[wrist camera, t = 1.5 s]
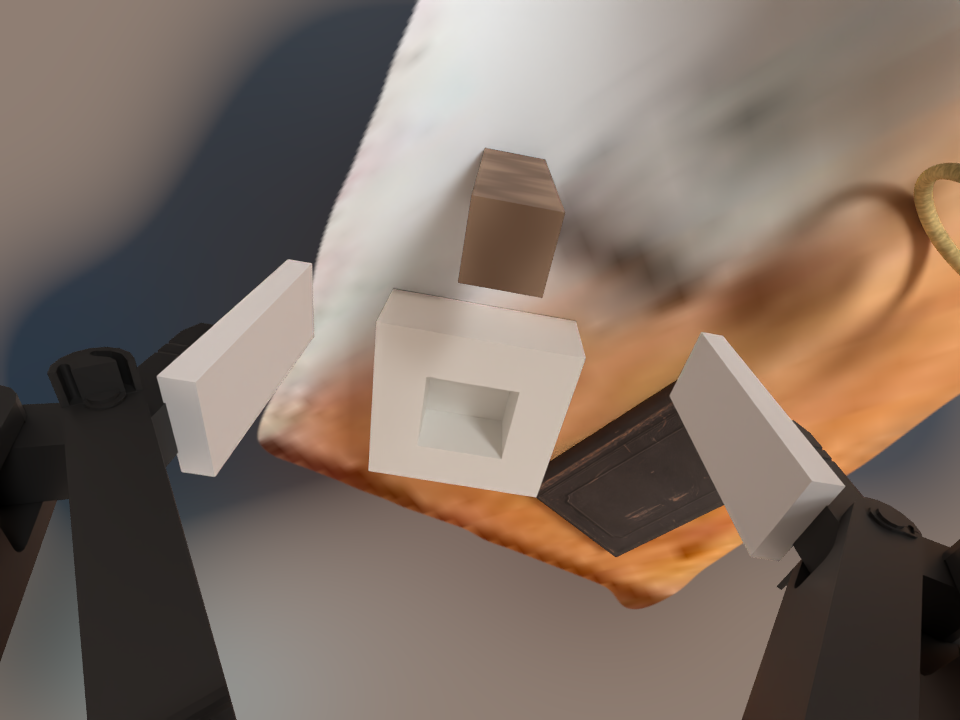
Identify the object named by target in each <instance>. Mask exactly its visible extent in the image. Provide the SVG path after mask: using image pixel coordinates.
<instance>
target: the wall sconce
mask: <svg viewBox="0 0 960 720" xmlns="http://www.w3.org/2000/svg"><path fill="white" fill-rule="evenodd" d="M939 179H946V180H952V181H956V182H959V183H960V164H959V163H943V164H938V165H935V166H932V167H930V168H928V169H927V170H925V171H924V172H923V173H922V174H921V175H920V176H919V177H918V179H917V181H916V184H915V187H914V202H915V207H916V210H917V214H918V216H919V219H920V222H921V224H922V226H923V228H924V230H925V232H926V234H927V236H928V237H929V239H930V240H931V242H932V244H933V245H934V246H935V248H936V249H937V251H938V252H939V253H940V254H941V255H942V257H943V258H944V259H945V260H946V261H947V263H948V264H949V265H950V266H951V267H952V268H953V269H954V270H955V271H956V272H957V273H958V274H959V275H960V250H959V249H958V247H957V246H956V245H955V244H954V242H953V241H952V240H951V238H950V237H949V235H948V234H947V232H946V230H945V229H944V227H943V225H942V223H941V221H940V219H939V217H938V214H937V212H936V208H935V205H934V201H933V185H934V183H935V181H936V180H939Z"/></svg>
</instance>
